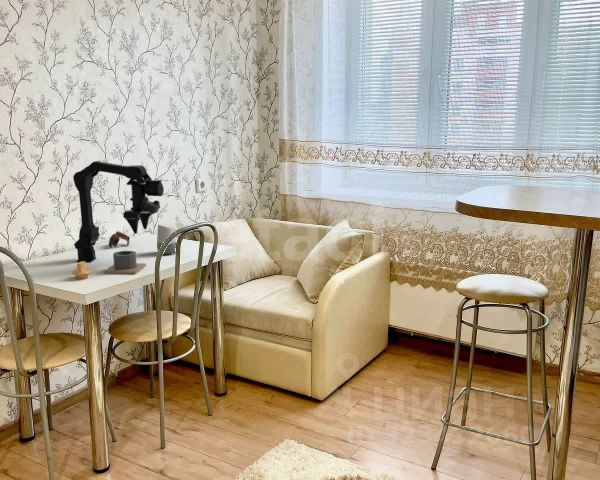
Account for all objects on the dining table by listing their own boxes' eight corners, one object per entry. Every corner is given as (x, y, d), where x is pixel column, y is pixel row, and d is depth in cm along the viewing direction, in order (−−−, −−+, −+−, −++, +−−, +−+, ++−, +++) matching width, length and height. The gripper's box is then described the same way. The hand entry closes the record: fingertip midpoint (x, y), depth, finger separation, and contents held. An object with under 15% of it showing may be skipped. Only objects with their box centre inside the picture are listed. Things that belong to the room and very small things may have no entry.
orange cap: (69, 280, 234) (68, 264, 233) (77, 275, 241) (76, 260, 240) (87, 280, 234) (85, 265, 232) (94, 275, 241) (93, 260, 239)
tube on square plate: (104, 273, 243) (103, 256, 242) (116, 265, 256) (115, 249, 254) (135, 274, 242) (134, 257, 241) (145, 266, 255) (145, 249, 253)
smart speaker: (180, 254, 276) (178, 224, 273) (160, 256, 272) (159, 226, 268) (174, 250, 284) (173, 221, 281) (155, 252, 280) (153, 223, 277)
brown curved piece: (110, 245, 297) (117, 230, 297) (126, 253, 296) (134, 239, 297) (101, 244, 285) (110, 229, 285) (119, 253, 284) (127, 238, 285)
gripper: (147, 199, 243) (148, 236, 246) (165, 193, 261) (166, 228, 264) (121, 198, 245) (123, 235, 248) (141, 192, 263) (143, 226, 266)
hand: (140, 231), depth 257 cm, fingers open, 9 cm apart
